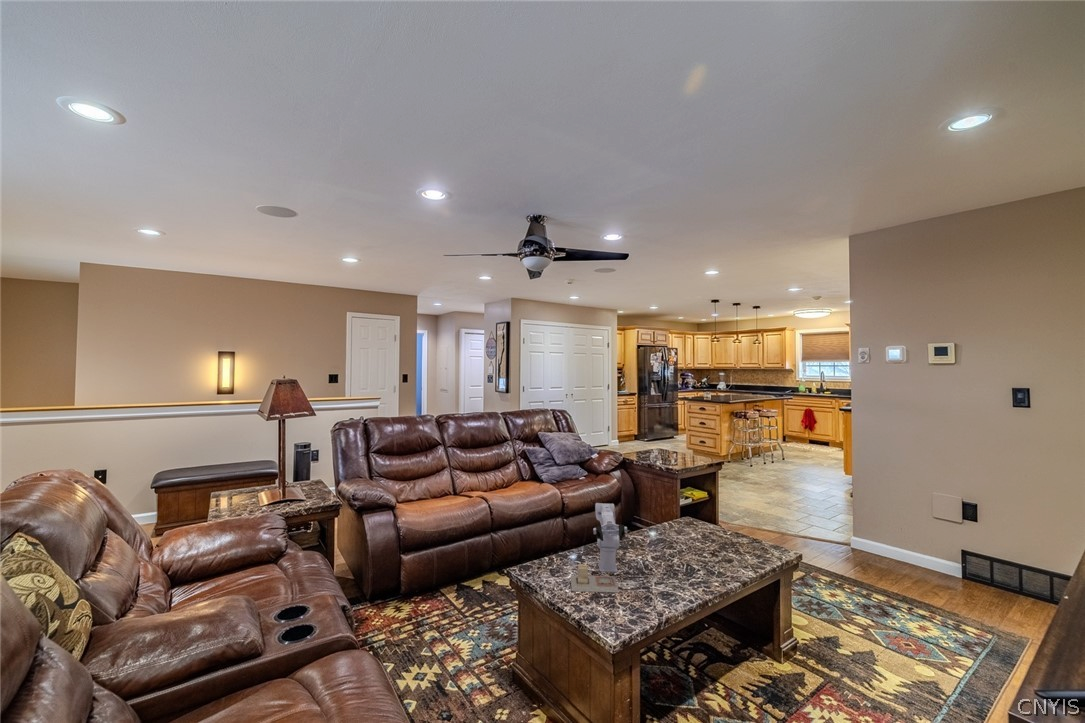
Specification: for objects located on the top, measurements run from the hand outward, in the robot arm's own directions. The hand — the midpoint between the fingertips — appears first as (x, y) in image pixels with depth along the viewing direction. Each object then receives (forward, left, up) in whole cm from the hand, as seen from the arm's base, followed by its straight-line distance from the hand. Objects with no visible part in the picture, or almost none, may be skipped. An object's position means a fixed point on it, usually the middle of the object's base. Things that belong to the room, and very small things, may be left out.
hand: (611, 538), depth 187 cm
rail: (-2, -7, -21) cm, 22 cm away
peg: (-2, -12, -21) cm, 24 cm away
